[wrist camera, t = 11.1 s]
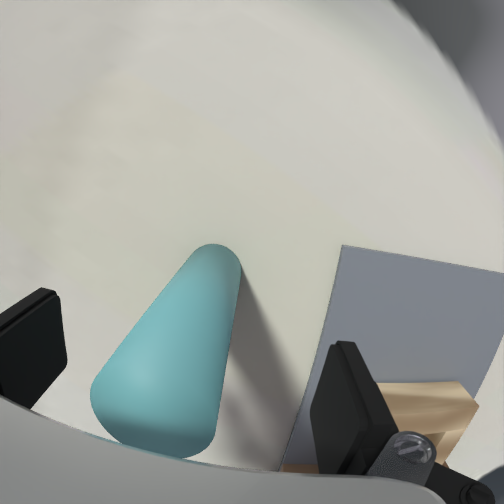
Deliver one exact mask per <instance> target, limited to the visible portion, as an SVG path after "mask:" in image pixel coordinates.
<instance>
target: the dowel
mask: <svg viewBox="0 0 504 504" xmlns="http://www.w3.org/2000/svg"><path fill="white" fill-rule="evenodd" d="M240 279H241V265H240V262H239V260H238V258H237V256H236V255H235V254H234V253H233V252H232V251H231V250H230V249H228V248H227V247H225V246H222V245H218V244H208V245H204V246H202V247H200V248H198V249H197V250H195V251H194V252H193V254H192V255H191V256H190V257H189V258H188V260H187V261H186V262H185V263H184V264H183V266H182V267H181V268H180V269H179V271H178V272H177V273H176V274H175V276H174V277H173V278H172V279H171V281H170V282H169V283H168V284H167V286H166V287H165V288H164V289H163V290H162V292H161V293H160V294H159V296H158V297H157V298H156V299H155V301H154V302H153V303H152V304H151V306H150V307H149V308H148V309H147V311H146V312H145V313H144V315H143V316H142V317H141V318H140V320H139V321H138V322H137V324H136V325H135V326H134V327H133V329H132V330H131V331H130V333H129V334H128V335H127V336H126V338H125V339H124V340H123V342H122V343H121V344H120V346H119V347H118V348H117V350H116V351H115V352H114V354H113V355H112V356H111V358H110V359H109V360H108V362H107V363H106V364H105V366H104V367H103V368H102V370H101V371H100V372H99V374H98V375H97V376H96V378H95V379H94V381H93V383H92V386H91V390H90V400H91V405H92V408H93V411H94V413H95V415H96V417H97V419H98V420H99V422H100V423H101V425H102V426H103V427H104V428H105V429H106V431H107V432H108V433H110V434H111V435H112V436H113V437H114V438H115V439H116V440H118V441H119V442H121V443H122V444H125V445H128V446H132V447H135V448H139V449H143V450H147V451H151V452H155V453H159V454H163V455H168V456H172V457H177V458H181V459H182V458H187V457H191V456H194V455H196V454H198V453H200V452H202V451H203V450H204V449H206V448H207V447H208V446H209V445H210V443H211V442H212V440H213V438H214V436H215V431H216V425H217V419H218V413H219V407H220V400H221V394H222V388H223V382H224V376H225V369H226V363H227V357H228V351H229V345H230V339H231V333H232V327H233V321H234V315H235V309H236V303H237V297H238V291H239V285H240Z"/></svg>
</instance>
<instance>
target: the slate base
mask: <svg viewBox="0 0 504 504" xmlns="http://www.w3.org/2000/svg"><path fill="white" fill-rule="evenodd" d="M503 334H504V273H499V272H494V271H488V270H483V269H478V268H473V267H467V266H462V265H456V264H451V263H445V262H440V261H434V260H429V259H423V258H417V257H412V256H406V255H400V254H394V253H389V252H383V251H377V250H371V249H365V248H359V247H353V246H347V245H342V248H341V253H340V257H339V262H338V267H337V271H336V276H335V280H334V284H333V289H332V293H331V297H330V301H329V306H328V310H327V314H326V318H325V322H324V326H323V329H322V333H321V337H320V341H319V345H318V348H317V352H316V356H315V359H314V363H313V366H312V370H311V373H310V377H309V380H308V383H307V387H306V390H305V393H304V397H303V400H302V403H301V406H300V410H299V413H298V416H297V419H296V422H295V425H294V428H293V431H292V434H291V437H290V440H289V443H288V446H287V449H286V451H285V454H284V457H283V460H282V463H281V465H280V468H279V471H278V472H280V470H281V467H282V465H283V464H318V463H317V456H316V450H315V444H314V438H313V432H312V426H311V421H310V406H311V403H312V400H313V397H314V394H315V391H316V388H317V385H318V382H319V379H320V376H321V373H322V369H323V366H324V363H325V360H326V356H327V353H328V350H329V347H330V345H331V344H335V343H336V342H337V341H338V340H339V341H351V342H355V343H356V345H357V347H358V349H359V351H360V353H361V355H362V357H363V359H364V361H365V363H366V365H367V368H368V370H369V372H370V374H371V376H372V378H373V380H374V381H375V382H376V383H426V382H450V381H458V382H459V383H460V384H461V385H462V386H463V387H464V389H465V390H466V391H467V392H468V393H469V394H470V396H471V397H472V398H473V399H474V398H475V396H476V394H477V392H478V390H479V388H480V386H481V384H482V382H483V380H484V378H485V376H486V374H487V372H488V369H489V367H490V365H491V363H492V361H493V358H494V356H495V354H496V351H497V349H498V347H499V344H500V342H501V339H502V337H503Z"/></svg>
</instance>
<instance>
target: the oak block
mask: <svg viewBox="0 0 504 504" xmlns="http://www.w3.org/2000/svg"><path fill="white" fill-rule="evenodd" d="M377 385H378V387H379V389H380V391H381V393H382V395H383V397H384V399H385V401H386V404H387V406H388V408H389V410H390V412H391V414H392V416H393V419H394V421H395V423H396V425H397V427H398V429H399V432H401V431H414V432H417V433H420V434H422V435H424V436H426V437H427V438H428V439H430V440H431V441H432V442H433V444H434V446H435V447H436V451H437V456H436V460H435V462H437V463H439V464H441V465H442V464H443V463H444V461H445V460H446V459H447V457H448V456H449V454H450V453H451V451H452V450H453V448H454V447H455V445H456V444H457V442H458V441H459V439H460V438H461V436H462V435H463V433H464V431H465V430H466V428H467V427H468V425H469V423H470V422H471V420H472V418H473V416H474V415H475V413H476V411H477V409H478V408H479V405H478V404H477V403H476V402H475V400H474V399H473V398H472V397H471V396H470V394H469V393H468V392H467V391H466V390H465V389H464V387H463V386H462V385H461V384H460V383H459V382H458V381H450V382H426V383H377Z"/></svg>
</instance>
